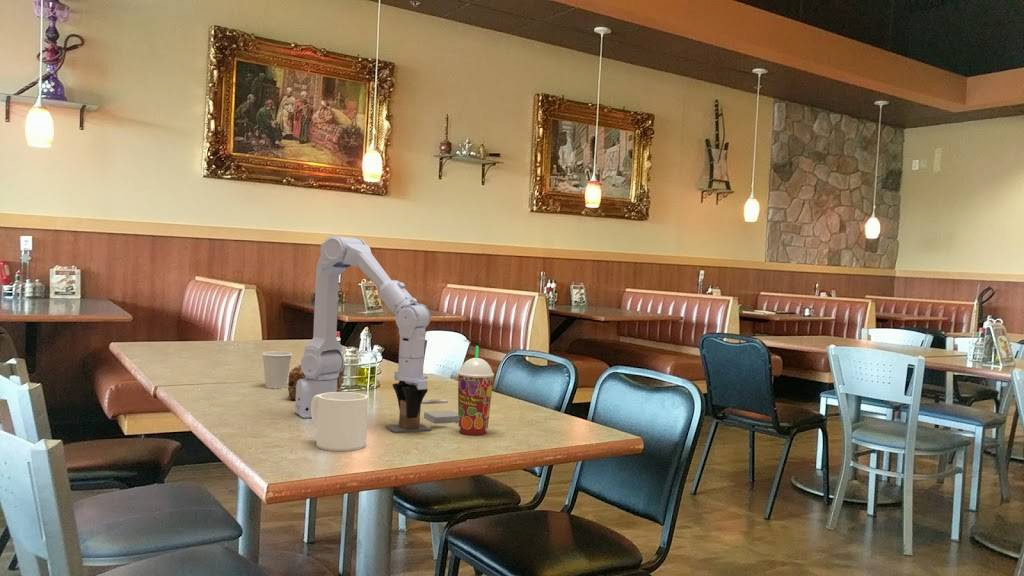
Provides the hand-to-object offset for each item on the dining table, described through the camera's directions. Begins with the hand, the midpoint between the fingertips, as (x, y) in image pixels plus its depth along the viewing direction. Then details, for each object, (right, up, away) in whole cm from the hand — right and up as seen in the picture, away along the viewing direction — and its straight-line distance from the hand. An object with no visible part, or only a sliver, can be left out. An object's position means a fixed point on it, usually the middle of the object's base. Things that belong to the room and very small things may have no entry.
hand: (408, 415), depth 179 cm
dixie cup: (-45, 0, +46) cm, 64 cm away
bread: (-30, -1, +36) cm, 47 cm away
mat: (0, -3, 0) cm, 3 cm away
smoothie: (+15, -4, 0) cm, 15 cm away
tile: (+4, -2, +11) cm, 12 cm away
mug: (-13, -3, -18) cm, 22 cm away
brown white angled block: (+3, -3, +2) cm, 5 cm away
